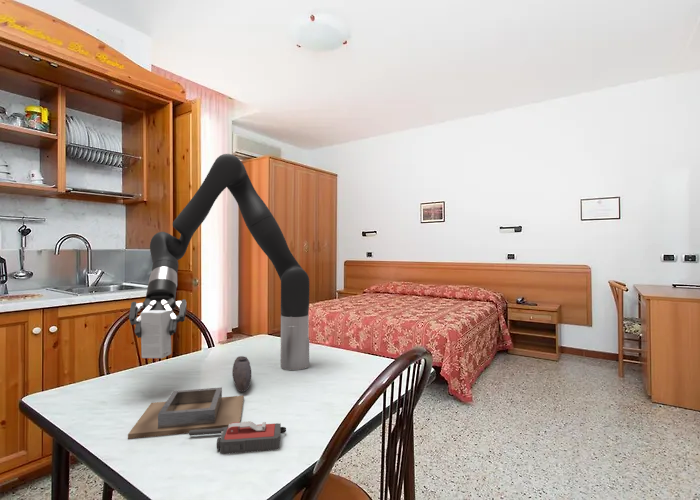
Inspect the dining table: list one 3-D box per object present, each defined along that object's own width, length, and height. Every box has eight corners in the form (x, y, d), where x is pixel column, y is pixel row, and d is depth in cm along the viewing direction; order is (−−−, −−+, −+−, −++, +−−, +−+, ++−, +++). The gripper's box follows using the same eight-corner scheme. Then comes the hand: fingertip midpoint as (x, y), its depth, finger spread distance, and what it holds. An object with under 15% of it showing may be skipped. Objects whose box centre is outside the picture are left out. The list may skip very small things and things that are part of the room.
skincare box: (172, 354, 100) (171, 309, 100) (162, 358, 96) (161, 312, 96) (150, 353, 101) (150, 309, 101) (140, 358, 97) (139, 312, 97)
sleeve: (221, 399, 94) (221, 387, 94) (214, 423, 81) (214, 409, 81) (173, 403, 92) (173, 390, 92) (157, 428, 79) (158, 414, 79)
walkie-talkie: (286, 430, 81) (190, 436, 78) (286, 410, 81) (190, 415, 78) (285, 451, 73) (177, 460, 69) (285, 429, 73) (177, 436, 69)
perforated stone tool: (252, 395, 100) (252, 369, 100) (232, 397, 98) (232, 371, 98) (250, 377, 114) (250, 354, 114) (232, 378, 112) (232, 355, 112)
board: (243, 399, 97) (243, 395, 97) (239, 428, 81) (239, 423, 81) (151, 406, 92) (151, 402, 92) (127, 438, 76) (128, 434, 76)
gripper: (132, 278, 104) (120, 329, 92) (188, 276, 108) (183, 324, 97) (137, 295, 109) (126, 345, 98) (190, 292, 113) (186, 340, 102)
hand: (155, 334), depth 97 cm, fingers closed on skincare box, 7 cm apart
